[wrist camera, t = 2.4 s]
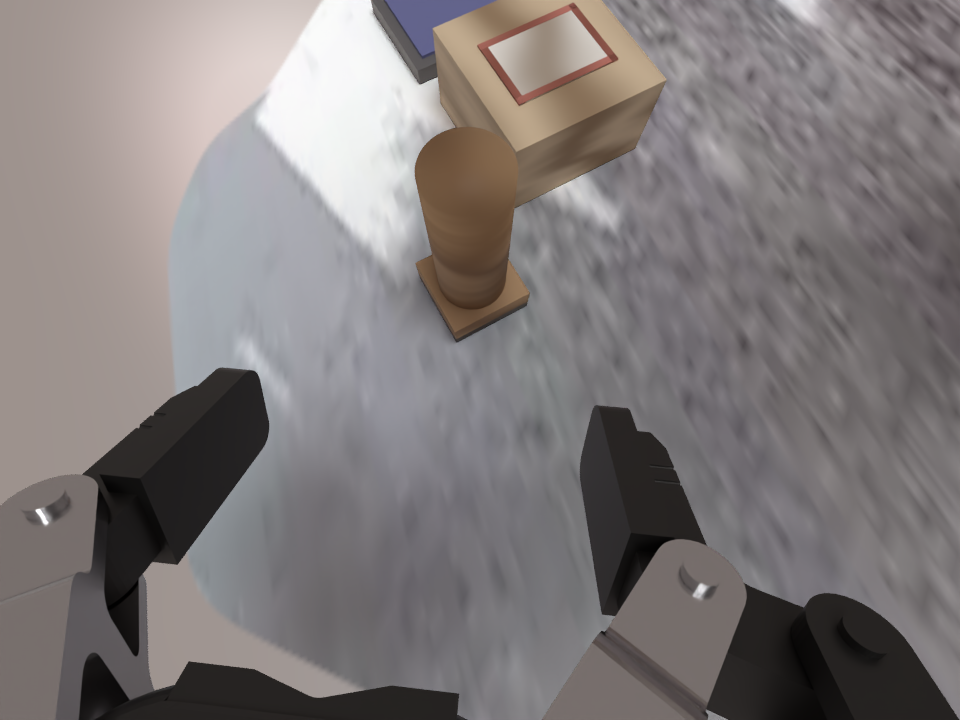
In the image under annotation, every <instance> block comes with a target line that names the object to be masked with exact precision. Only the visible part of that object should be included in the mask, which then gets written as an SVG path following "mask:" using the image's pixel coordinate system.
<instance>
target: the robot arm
mask: <svg viewBox="0 0 960 720" xmlns="http://www.w3.org/2000/svg"><path fill="white" fill-rule="evenodd" d="M268 433H269V420H268V415H267V411H266V406H265V402H264V397H263V392H262V388H261V383H260V379H259V376H258V374H257V373H256V372H255V371H252V370H242V369H232V368H218V369H216V370H215V371H214V372H213V373H212V374H211V375H210V376H208V377H207V378H206V379H205V380H204V381H203V382H202V383H201V384H199V385H198V386H194V387H192V388H190V389H188V390H186V391H184V392H182V393H180V394H178V395H176V396H174V397H172V398H170V399H169V400H168V401H167V402H166V403H165V404H163V405H162V406H161V407H160V408H159V409H158V410H157V411H155V412H154V416H150V417H148V418H147V419H146V420H145V421H144V422H143V423H141V424H140V428H136V429H134V430H133V431H132V432H131V433H130V434H129V435H127V436H126V437H125V438H124V439H123V440H122V441H120V442H119V443H118V444H117V445H116V446H115V447H114V448H112V449H111V450H110V451H109V452H108V453H107V454H105V455H104V456H103V457H102V458H101V459H100V460H98V461H97V462H96V463H95V464H94V465H93V466H91V467H90V468H89V469H88V470H87V471H86V472H85V473H83V474H82V475H76V474H75V475H64V476H58V477H54V478H50V479H47V480H44V481H41V482H38V483H36V484H33V485H31V486H29V487H27V488H25V489H23V490H22V491H20V492H18V493H17V494H15V495H13V496H12V497H10V498H9V499H8V500H7V501H5V502H4V503H3V504H2V505H1V506H0V720H467V719H465V718H463V717H461V716H459V715H457V711H458V699H459V694H457V693H449V692H440V691H432V690H423V689H415V688H407V687H398V686H387V687H381V688H376V689H370V690H364V691H358V692H353V693H347V694H342V695H335V696H330V697H324V698H314V697H311V696H308V695H306V694H304V693H302V692H300V691H298V690H296V689H294V688H292V687H290V686H287V685H285V684H283V683H281V682H279V681H277V680H275V679H273V678H271V677H269V676H267V675H265V674H263V673H261V672H259V671H256V670H255V669H247V668H239V667H230V666H222V665H213V664H205V663H197V662H188V664H187V665H186V667H185V669H184V671H183V672H182V674H181V676H180V677H179V679H178V681H177V682H176V684H175V685H173V686H169V687H166V688H162V689H159V690H155V691H154V688H153V685H152V682H151V677H150V672H149V664H148V631H147V630H148V628H147V627H148V626H147V586H146V580H145V578H144V576H143V573H144V571H145V570H146V569H147V568H148V566H149V565H150V564H151V563H152V562H159V563H168V564H176V565H177V564H178V563H179V562H180V561H181V559H182V558H183V556H184V555H185V554H186V552H187V551H188V550H189V548H190V547H191V546H192V544H193V543H194V541H195V540H196V539H197V537H198V536H199V535H200V533H201V532H202V531H203V529H204V528H205V526H206V525H207V524H208V522H209V521H210V520H211V518H212V517H213V515H214V514H215V513H216V511H217V510H218V509H219V507H220V506H221V505H222V503H223V502H224V500H225V499H226V498H227V496H228V495H229V494H230V492H231V491H232V490H233V488H234V487H235V485H236V484H237V483H238V481H239V480H240V479H241V477H242V476H243V475H244V473H245V472H246V470H247V469H248V468H249V466H250V465H251V464H252V462H253V461H254V460H255V458H256V457H257V455H258V454H259V453H260V451H261V450H262V449H263V447H264V445H265V443H266V441H267V438H268ZM673 468H674V466H673V464H672V462H671V459H670V457H669V454H668V452H667V450H666V448H665V447H664V446H663V445H662V444H661V443H660V442H659V441H658V440H657V439H656V438H655V437H654V436H653V435H652V434H651V433H650V432H640V431H637V429H636V426H635V423H634V421H633V418H632V415H631V412H630V410H629V409H628V408H618V407H608V406H598V405H596V406H594V408H593V411H592V414H591V418H590V422H589V427H588V431H587V435H586V439H585V443H584V447H583V451H582V456H581V463H580V481H581V488H582V494H583V500H584V506H585V512H586V519H587V525H588V531H589V537H590V544H591V550H592V556H593V562H594V569H595V575H596V581H597V587H598V593H599V600H600V606H601V612H602V614H603V615H612V616H615V618H614V619H613V621H612V623H611V624H610V626H609V627H608V628H607V630H606V631H605V632H603V631H601V632H600V633H599V634H598V635H597V637H596V638H595V639H594V641H593V642H592V644H591V645H590V647H589V648H588V650H587V651H586V653H585V654H584V656H583V657H582V659H581V660H580V662H579V663H578V665H577V666H576V668H575V670H574V671H573V673H572V674H571V676H570V677H569V679H568V680H567V682H566V683H565V685H564V686H563V688H562V689H561V691H560V693H559V694H558V696H557V697H556V699H555V700H554V702H553V703H552V705H551V706H550V708H549V709H548V711H547V713H546V714H545V716H544V717H543V719H542V720H708V714H707V713H706V709H707V710H709V711H711V712H713V713H716V714H718V715H720V716H722V717H724V718H726V719H728V720H959V719H958V717H957V716H956V714H955V713H954V711H953V710H952V708H951V707H950V705H949V703H948V702H947V700H946V699H945V697H944V696H943V694H942V693H941V691H940V690H939V688H938V687H937V685H936V684H935V682H934V681H933V679H932V678H931V676H930V675H929V673H928V672H927V670H926V669H925V667H924V666H923V664H922V663H921V661H920V660H919V658H918V657H917V655H916V653H915V652H914V650H913V649H912V647H911V646H910V645H909V643H908V642H907V641H906V639H905V638H904V637H903V636H902V635H901V634H900V632H899V631H898V630H897V629H896V628H895V627H894V626H893V625H891V624H890V623H889V622H888V621H887V620H886V619H884V618H883V617H882V616H881V615H879V614H878V613H876V612H875V611H873V610H872V609H871V608H869V607H867V606H865V605H864V604H862V603H860V602H858V601H855V600H853V599H851V598H848V597H845V596H842V595H837V594H830V593H824V594H818V595H815V596H814V597H812V598H811V599H810V600H809V601H808V603H807V604H806V605H805V607H804V608H803V607H801V606H798V605H795V604H793V603H790V602H788V601H785V600H783V599H780V598H777V597H775V596H772V595H770V594H767V593H764V592H762V591H759V590H757V589H755V588H752V587H750V586H748V585H747V584H745V583H744V582H743V580H742V578H741V576H740V575H739V573H738V571H737V570H736V569H735V568H734V566H733V565H732V564H731V563H730V562H729V561H728V560H727V559H726V558H725V557H723V556H722V555H721V554H720V553H718V552H717V551H715V550H714V549H712V548H710V547H708V546H707V545H706V543H705V540H704V538H703V535H702V533H701V531H700V528H699V526H698V523H697V521H696V519H695V516H694V514H693V512H692V509H691V507H690V504H689V502H688V500H687V497H686V495H685V493H684V490H683V488H682V486H680V481H679V478H678V476H677V473H676V471H675V470H673Z"/></svg>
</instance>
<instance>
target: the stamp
mask: <svg viewBox="0 0 960 720" xmlns="http://www.w3.org/2000/svg"><path fill="white" fill-rule="evenodd" d="M415 179H416V184H417V189H418V193H419V198H420V202H421V206H422V211H423V215H424V220H425V224H426V229H427V233H428V238H429V242H430V247H431V251H432V255H431V256H429V257H427V258H425V259H423V260H421V261H419V262H417V263H416V266H417V270H418V273H419V276H420V278H421V280H422V282H423V284H424V286H425V287H426V289H427V291H428V293H429V294H430V296H431V298H432V300H433V301H434V303H435V305H436V307H437V309H438V310H439V312H440V314H441V316H442V317H443V319H444V321H445V323H446V324H447V326H448V328H449V330H450V332H451V333H452V335H453V337H454V339H455V340H456V342H459V341H461V340H463V339H464V338H466V337H468V336H470V335H472V334H474V333H476V332H478V331H480V330H482V329H483V328H485V327H487V326H489V325H491V324H493V323H495V322H497V321H499V320H500V319H502V318H504V317H506V316H508V315H510V314H512V313H514V312H516V311H517V310H519V309H521V308H523V307H525V306H527V302H528V298H529V294H530V293H529V291H528V289H527V288H526V286H525V285H524V283H523V281H522V280H521V278H520V277H519V275H518V274H517V272H516V270H515V269H514V267H513V266H512V264H511V262H510V261H509V259H508V257H509V248H510V240H511V231H512V223H513V214H514V206H515V197H516V189H517V180H518V163H517V159H516V157H515V154H514V152H513V151H512V149H511V148H510V146H509V145H508V144H507V143H506V142H505V141H504V140H503V139H502V138H500V137H499V136H498V135H496V134H494V133H492V132H490V131H488V130H484V129H481V128H476V127H459V128H453V129H450V130H447V131H444V132H442V133H440V134H438V135H436V136H435V137H434V138H432V139H431V140H430V141H429V142H428V143H427V144H426V145H425V146H424V147H423V148H422V150H421V152H420V153H419V155H418V158H417V161H416V165H415Z"/></svg>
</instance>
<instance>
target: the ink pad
mask: <svg viewBox="0 0 960 720" xmlns="http://www.w3.org/2000/svg"><path fill="white" fill-rule="evenodd" d="M495 1H497V0H371V3H372V7H373V11H374V14H375V15H376V17H377V18H378V20H379V21H380V23H381V25H382V26H383V28H384V29H385V31H386V32H387V34H388V35H389V37H390V39H391V40H392V42H393V43H394V45H395V46H396V48H397V49H398V51H399V53H400V54H401V56H402V57H403V59H404V60H405V62H406V64H407V65H408V67H409V68H410V70H411V71H412V73H413V74H414V76H415V78H416V79H417V81H418V82H419V84H422V83H424V82H426V81H428V80H431V79H433V78H435V77H437V76H438V73H437V64H436V55H435V46H434V37H433V28H434V27H437V26H439V25H441V24H444V23H446V22H448V21H451V20H453V19H455V18H457V17H460V16H462V15H464V14H467V13H469V12H471V11H474V10H476V9H478V8H481V7H483V6H485V5H488V4H490V3H492V2H495Z"/></svg>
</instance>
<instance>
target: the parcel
mask: <svg viewBox="0 0 960 720" xmlns="http://www.w3.org/2000/svg"><path fill="white" fill-rule="evenodd" d="M433 37H434V46H435V55H436V64H437V73H438V82H439V91H440V100H441V104H442V106H443V107H444V109H445V110H446V112H447V113H448V115H449V117H450V118H451V120H452V121H453V123H454V124H455V126H456V127H457V128H459V127H476V128H481V129H484V130H488V131H490V132H492V133H494V134H496V135H498V136H499V137H500V138H502V139H503V140H504V141H505V142H506V143H507V144H508V145H509V146H510V148H511V149H512V151H513V152H514V154H515V157H516V159H517V163H518V180H517V189H516V197H515V206H514V208H516V207H518V206H520V205H522V204H524V203H526V202H528V201H530V200H532V199H534V198H536V197H538V196H540V195H542V194H544V193H546V192H548V191H550V190H552V189H554V188H556V187H558V186H560V185H562V184H564V183H566V182H568V181H570V180H572V179H574V178H576V177H578V176H580V175H582V174H584V173H586V172H588V171H590V170H592V169H594V168H596V167H598V166H601V165H603V164H605V163H607V162H609V161H611V160H613V159H615V158H617V157H619V156H621V155H623V154H625V153H627V152H629V151H631V150H633V149H635V147H636V145H637V143H638V141H639V139H640V137H641V134H642V132H643V130H644V128H645V126H646V124H647V121H648V119H649V117H650V115H651V113H652V111H653V108H654V106H655V104H656V102H657V100H658V98H659V95H660V93H661V91H662V89H663V87H664V85H665V82H666V78H665V77H664V76H663V75H662V74H661V72H660V71H659V70H658V69H657V67H656V66H655V65H654V64H653V63H652V61H651V60H650V59H649V58H648V56H647V55H646V54H645V53H644V52H643V50H642V49H641V48H640V47H639V46H638V44H637V43H636V42H635V41H634V39H633V38H632V37H631V36H630V35H629V33H628V32H627V31H626V30H625V28H624V27H623V26H622V25H621V24H620V22H619V21H618V20H617V19H616V17H615V16H614V15H613V14H612V13H611V11H610V10H609V9H608V8H607V6H606V5H605V4H604V3H603V2H602V0H497V1H495V2H492V3H490V4H488V5H485V6H483V7H481V8H478V9H476V10H474V11H471V12H469V13H467V14H464V15H462V16H460V17H457V18H455V19H453V20H451V21H448V22H446V23H444V24H441V25H439V26H437V27H434V28H433Z"/></svg>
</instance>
